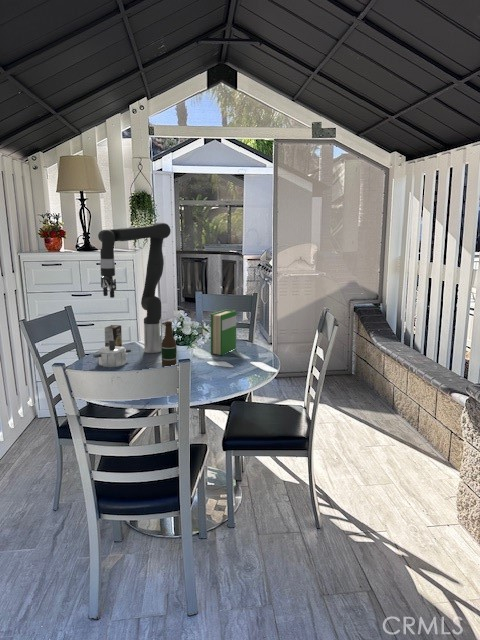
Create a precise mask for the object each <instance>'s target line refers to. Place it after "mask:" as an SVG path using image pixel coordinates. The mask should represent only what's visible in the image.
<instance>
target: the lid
mask: <svg viewBox="0 0 480 640" xmlns="http://www.w3.org/2000/svg"><path fill="white" fill-rule="evenodd" d="M125 349H126V347H125V346H122V347H121V346H115V340H109V346H108V347H105V346H103V347H100V348H99V349H98V352H100V353H103V354H117V353H122V352H124V351H125Z"/></svg>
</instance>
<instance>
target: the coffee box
mask: <svg viewBox="0 0 480 640" xmlns="http://www.w3.org/2000/svg"><path fill="white" fill-rule="evenodd" d="M122 336H123V335H122V325H120V324H119V325H117V324H111V325H108V326H106V327H104V345H105V346H104V347H108V346H109V340H115V346H121V347H123V339H122Z"/></svg>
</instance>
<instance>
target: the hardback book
mask: <svg viewBox="0 0 480 640" xmlns="http://www.w3.org/2000/svg"><path fill="white" fill-rule="evenodd" d="M235 348H236V349H237V310H232V309H222V310H220V311H216V312H213V313H210V355H211V354H213V355H219V356H221V355H224V354H225V353H227V352H229V351H231V350H233V349H235ZM224 356H225V355H224Z"/></svg>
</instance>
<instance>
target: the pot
mask: <svg viewBox="0 0 480 640" xmlns="http://www.w3.org/2000/svg"><path fill="white" fill-rule="evenodd" d="M131 352H132V350H131V349H130V348H125V351H124V352H122V353H117V354H103V353H100V352H99V351H98V353H96V354H95V353H94V354H93V356H92V357H93V358H94V359H97V358H98V366H100V367H102V366H103V368H118V367H122V366H124V365H127V353H131Z"/></svg>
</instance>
